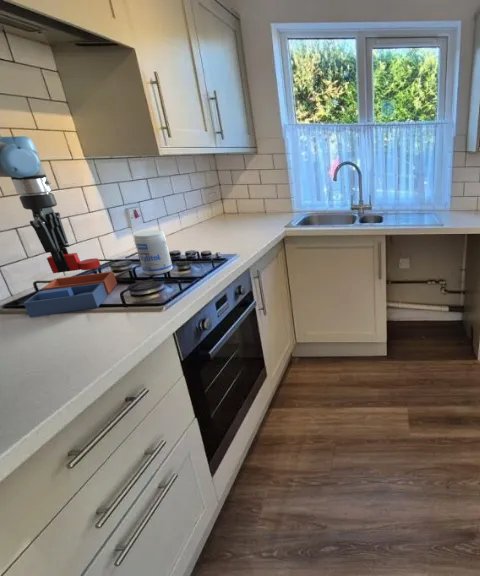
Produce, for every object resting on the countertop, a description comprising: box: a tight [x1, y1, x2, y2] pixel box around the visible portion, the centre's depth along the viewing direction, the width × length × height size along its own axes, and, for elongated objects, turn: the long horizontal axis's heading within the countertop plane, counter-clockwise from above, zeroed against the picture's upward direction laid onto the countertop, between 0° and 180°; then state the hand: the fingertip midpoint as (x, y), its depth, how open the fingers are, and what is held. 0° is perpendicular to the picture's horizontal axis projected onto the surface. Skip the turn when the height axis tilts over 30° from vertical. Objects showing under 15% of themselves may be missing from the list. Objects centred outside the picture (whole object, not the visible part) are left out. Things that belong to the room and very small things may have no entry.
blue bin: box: [23, 283, 108, 318], centre depth 108 cm, size 16×9×4 cm, turn 111°
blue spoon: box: [39, 287, 92, 300], centre depth 108 cm, size 12×5×5 cm, turn 110°
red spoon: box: [46, 252, 102, 274], centre depth 114 cm, size 12×5×5 cm, turn 110°
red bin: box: [41, 271, 118, 295], centre depth 117 cm, size 16×9×4 cm, turn 110°
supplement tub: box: [133, 229, 173, 276], centre depth 133 cm, size 10×10×15 cm
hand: (66, 269), depth 114 cm, fingers closed on red spoon, 2 cm apart
